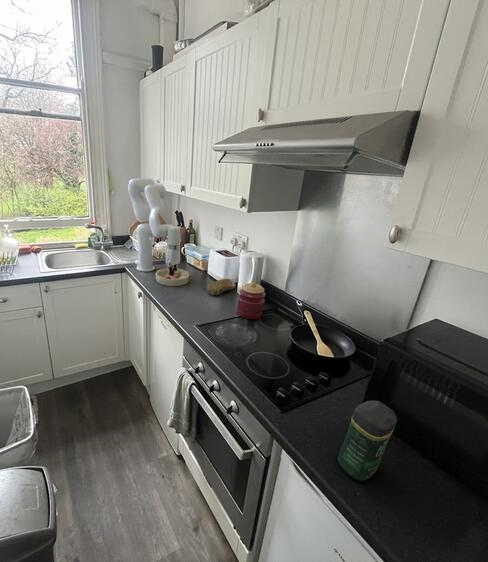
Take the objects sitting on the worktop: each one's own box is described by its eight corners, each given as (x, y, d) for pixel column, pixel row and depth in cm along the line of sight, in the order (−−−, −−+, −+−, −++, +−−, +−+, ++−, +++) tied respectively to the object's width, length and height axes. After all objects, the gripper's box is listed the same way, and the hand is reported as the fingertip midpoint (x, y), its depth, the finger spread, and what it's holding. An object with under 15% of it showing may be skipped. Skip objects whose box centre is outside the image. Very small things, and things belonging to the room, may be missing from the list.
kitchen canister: (254, 307, 161) (259, 276, 154) (266, 318, 149) (272, 286, 143) (232, 309, 157) (236, 277, 150) (243, 320, 145) (248, 287, 139)
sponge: (224, 287, 188) (199, 286, 176) (229, 276, 185) (203, 274, 173) (236, 298, 179) (210, 298, 167) (241, 287, 176) (215, 286, 164)
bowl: (148, 281, 186) (148, 274, 185) (168, 272, 204) (168, 266, 202) (176, 289, 177) (177, 282, 175) (195, 279, 194) (195, 272, 193)
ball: (164, 281, 186) (164, 276, 185) (167, 280, 188) (167, 275, 187) (168, 282, 184) (169, 277, 183) (171, 281, 187) (172, 276, 186)
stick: (165, 274, 190) (165, 270, 189) (168, 273, 192) (168, 269, 191) (178, 277, 185) (178, 273, 184) (181, 276, 188) (181, 272, 187)
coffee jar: (360, 488, 71) (382, 430, 64) (331, 461, 77) (349, 405, 70) (382, 469, 76) (405, 414, 69) (353, 445, 82) (372, 392, 75)
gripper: (175, 243, 190) (175, 270, 197) (160, 248, 177) (160, 277, 184) (185, 245, 187) (185, 272, 194) (170, 250, 174) (170, 279, 180)
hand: (173, 274), depth 189 cm, fingers closed on stick, 2 cm apart
